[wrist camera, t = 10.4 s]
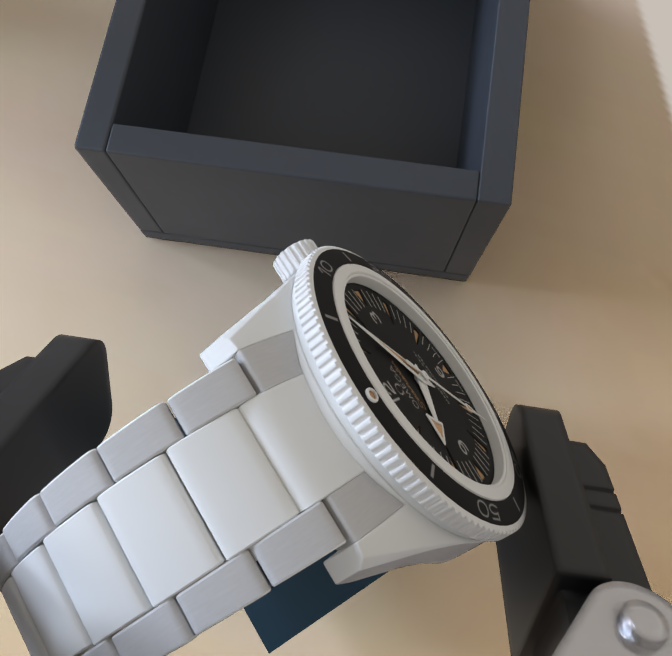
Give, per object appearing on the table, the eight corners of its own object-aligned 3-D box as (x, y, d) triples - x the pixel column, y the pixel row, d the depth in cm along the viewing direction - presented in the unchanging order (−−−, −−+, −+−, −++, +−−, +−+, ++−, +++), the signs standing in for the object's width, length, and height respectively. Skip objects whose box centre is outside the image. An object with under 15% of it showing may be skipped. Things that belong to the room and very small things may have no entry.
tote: (145, 237, 20) (72, 146, 15) (220, -69, 23) (182, -237, 18) (466, 282, 20) (512, 205, 14) (500, -38, 23) (548, -201, 17)
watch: (476, 490, 17) (697, 495, 6) (224, 662, 16) (-4, 1002, 5) (365, 325, 18) (397, 102, 8) (124, 475, 17) (-223, 457, 7)
